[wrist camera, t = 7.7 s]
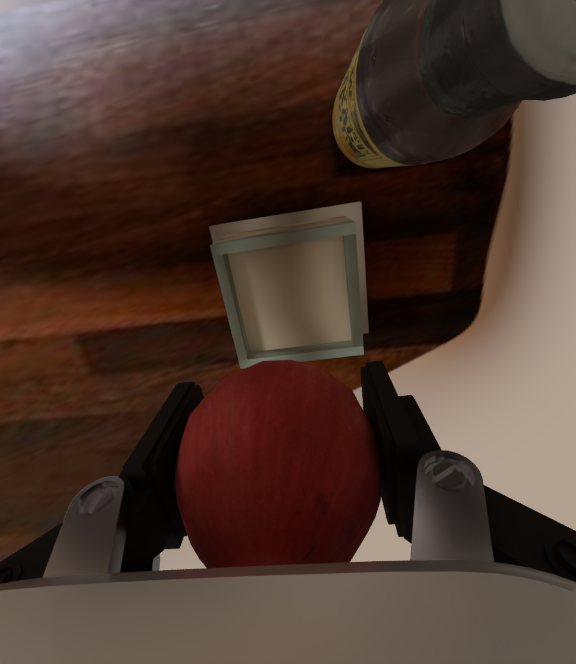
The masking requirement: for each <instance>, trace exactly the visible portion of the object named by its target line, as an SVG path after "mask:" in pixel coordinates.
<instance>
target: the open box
mask: <svg viewBox="0 0 576 664" xmlns="http://www.w3.org/2000/svg"><path fill="white" fill-rule="evenodd" d="M209 229H210V233H211V237H212V241H213V243H212V244H211V245H210V248H211V252H212V256H213V260H214V264H215V268H216V272H217V276H218V280H219V284H220V288H221V292H222V296H223V300H224V304H225V308H226V312H227V316H228V320H229V324H230V328H231V332H232V336H233V340H234V344H235V348H236V352H237V356H238V360H239V364H240V368H247V367H250V366H252V365H254V364H256V363H259V362H261V361H272V360H295V361H298V362H302V361H311V360H320V359H329V358H337V357H346V356H355V355H363V354H364V348H363V334H364V333H369V327H368V309H367V291H366V274H365V256H364V239H363V221H362V204H361V202H360V201H359V202H353V203H347V204H340V205H334V206H328V207H322V208H316V209H310V210H304V211H298V212H292V213H285V214H279V215H273V216H267V217H261V218H255V219H249V220H243V221H237V222H231V223H224V224H218V225H212V226H210V227H209Z"/></svg>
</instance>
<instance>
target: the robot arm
mask: <svg viewBox="0 0 576 664" xmlns="http://www.w3.org/2000/svg"><path fill="white" fill-rule="evenodd" d="M361 384H362V397H363V411H364V413H365V414H366V416H367V418H368V419H369V421H370V423H371V424H372V426H373V428H374V430H375V434H376V437H377V441H378V445H379V449H380V453H381V498H382V502H383V505H384V510H385V514H386V518H387V521H388V524H395V526H396V530H397V533H398V536H399V537H404V539H406V540H407V541H408V542H410V543H411V544H412V546H411V559H410V561H372V562H347V563H321V564H295V565H271V566H249V567H226V568H206V569H185V570H184V569H183V570H163V571H159V566H160V555H159V554H160V553H161V552H162V551H163V550H164V549H178V548H180V546H181V543H182V540H183V537H184V536H187V532H186V530H185V527H184V523H183V520H182V517H181V513H180V510H179V507H178V503H177V497H176V491H175V485H174V482H175V469H176V461H177V457H178V453H179V449H180V445H181V441H182V437H183V434H184V431H185V428H186V425H187V422H188V419H189V416H190V414H191V413H192V412H193V411H194V409H195V408H196V407H197V406H198V405H199V404H200V402H201V401H202V400H203V399H204V397H203V393H202V390H201V388H200V386H199V385H196V384H195V383H194V382H185V383H178V384H177V385H176V386H175V388H174V389H173V391H172V392H171V394H170V395H169V397H168V398H167V400H166V401H165V403H164V405H163V406H162V408H161V409H160V411H159V412H158V414H157V415H156V417H155V418H154V420H153V421H152V423H151V424H150V426H149V428H148V429H147V431H146V432H145V434H144V435H143V437H142V438H141V440H140V441H139V443H138V444H137V446H136V448H135V449H134V451H133V452H132V454H131V455H130V457H129V458H128V460H127V461H126V463H125V464H124V466H123V467H122V468H123V471H122V472H121V474H120V475H119V477H117V476H109V477H105V478H102V479H99V480H97V481H95V482H93V483H91V484H90V485H88V486H87V487H85V488H84V489H83V490H82V491H81V492H79V493H78V494H77V496H76V497H75V498H74V499H73V500H72V502H71V504H70V506H69V508H68V510H67V513H66V516H65V518H64V521H63V523H61V524H59V525H58V526H56V527H55V528H53V529H52V530H50V531H48V532H47V533H45V534H44V535H42V536H41V537H39V538H37V539H36V540H34V541H33V542H31V543H29V544H28V545H26V546H25V547H23V548H22V549H20V550H18V551H17V552H15V553H14V554H12V555H11V556H9V557H7V558H6V559H4V560H3V561H1V562H0V664H576V531H575V530H573V529H571V528H569V527H567V526H565V525H563V524H560V523H558V522H557V521H555V520H553V519H551V518H549V517H547V516H545V515H542V514H541V513H538V512H536V511H535V510H533V509H531V508H529V507H527V506H525V505H523V504H521V503H519V502H517V501H515V500H513V499H510V498H509V497H507V496H505V495H503V494H501V493H498V492H496V491H494V490H492V489H491V488H489V487H487V486H485V485H483V479H482V476H481V473H480V471H479V469H478V468H477V467H476V465H475V464H474V463H472V462H471V461H470V460H469V459H467V458H466V457H464V456H462V455H460V454H458V453H454V452H451V451H442V450H441V448H440V446H439V444H438V442H437V441H436V439H435V437H434V435H433V433H432V431H431V429H430V427H429V425H428V424H427V422H426V420H425V418H424V416H423V414H422V412H421V410H420V408H419V406H418V404H417V402H416V401H415V399H414V397H413V396H412V395H407V396H398V395H397V393H396V390H395V388H394V386H393V384H392V381H391V379H390V377H389V375H388V373H387V370H386V368H385V366H384V364H383V362H382V361H375V362H366V367H361Z"/></svg>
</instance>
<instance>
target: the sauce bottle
mask: <svg viewBox="0 0 576 664" xmlns="http://www.w3.org/2000/svg"><path fill="white" fill-rule="evenodd" d="M575 93H576V0H384V1H383V2H382V4H381V5H380V6H379V7H378V9H377V10H376V12H375V14H374V15H373V17H372V19H371V20H370V23H369V25H368V26H367V28H366V30H365V33H364V35H363V36H362V38H361V41H360V43H359V45H358V48H357V51H356V53H355V55H354V56H353V59H352V61H351V63H350V65H349V68H348V69H347V72H346V74H345V77H344V79H343V82H342V84H341V86H340V88H339V91H338V93H337V96H336V99H335V102H334V108H333V117H332V121H333V132H334V136H335V140H336V142H337V144H338V146H339V148H340V149H341V151H342V153H343V154H344V155H345V156H346V157H347V158H348V159H349V160H350V161H352V162H353V163H355V164H357V165H359V166H362V167H366V168H384V167H396V166H408V165H420V164H425V163H429V162H433V161H441V160H444V159H448V158H453V157H455V156H458V155H460V154H462V153H465V152H467V151H469V150H471V149H473V148H474V147H476V146H477V145H480V144H481V143H482V142H483V141H485V140H486V139H488V138H489V137H491V136H492V135H494V134H495V133H496V132H497V131H498V130H500V129H501V128H502V127H503V126H504V125H505V124H506V122H507V121H508V120H509V119H510V118H511V116H512V115H513V113H514V112H515V110H516V109H517V108H518V106H519V104H520V103H521V102H522V100H543V101H545V100H550V99H556V98H563V97H567V96H569V95H573V94H575Z"/></svg>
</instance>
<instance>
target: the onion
mask: <svg viewBox="0 0 576 664" xmlns="http://www.w3.org/2000/svg"><path fill="white" fill-rule="evenodd" d="M174 485H175V491H176V497H177V503H178V507H179V510H180V513H181V517H182V520H183V523H184V527H185V530H186V532H187V535H188V538H189V541H190V543H191V545H192V547H193V549H194V550H195V552H196V554H197V556H198V557H199V559H200V560H201V561H202V563H204V565H205V566H206V568H226V567H249V566H271V565H295V564H321V563H347V562H350V561H351V559H352V558H353V556H354V554H355V553H356V551H357V549H358V548H359V546H360V544H361V543H362V541H363V540H364V538H365V536H366V535H367V533H368V531H369V528H370V527H371V525H372V523H373V521H374V519H375V516H376V513H377V510H378V507H379V503H380V500H381V453H380V449H379V445H378V441H377V437H376V434H375V430H374V428H373V426H372V424H371V423H370V421H369V419H368V418H367V416H366V414H365V413H364V411H363V409H362V408H361V406H360V404H359V403H358V401H357V399H356V397H355V395H354V393H353V391H352V390H351V389H350V388H348V387H347V386H345V385H344V384H343V383H341V382H340V381H339V380H337V379H336V378H334V377H333V376H332V375H330V374H329V373H327V372H326V371H324V370H322V369H320V368H318V367H315V366H311V365H308V364H305V363H301V362H298V361H295V360H272V361H261V362H259V363H256V364H254V365H252V366H250V367H247V368H245V369H243V370H240V371H238V372H236V373H234V374H231V375H229V376H227V377H225V378H223V379H222V380H221V381H220V382H219V383H218V384H217V385H216V386H215V387H214V388H213V389H212V390H211V391H210V392H209V393H208V394H207V395H206V397H205V398H204V399H203V400H202V401H201V402H200V404H199V405H198V406H197V407H196V408H195V409H194V411H193V412H192V413H191V414H190V416H189V419H188V422H187V425H186V428H185V431H184V434H183V437H182V441H181V445H180V449H179V453H178V457H177V461H176V469H175V482H174Z"/></svg>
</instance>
